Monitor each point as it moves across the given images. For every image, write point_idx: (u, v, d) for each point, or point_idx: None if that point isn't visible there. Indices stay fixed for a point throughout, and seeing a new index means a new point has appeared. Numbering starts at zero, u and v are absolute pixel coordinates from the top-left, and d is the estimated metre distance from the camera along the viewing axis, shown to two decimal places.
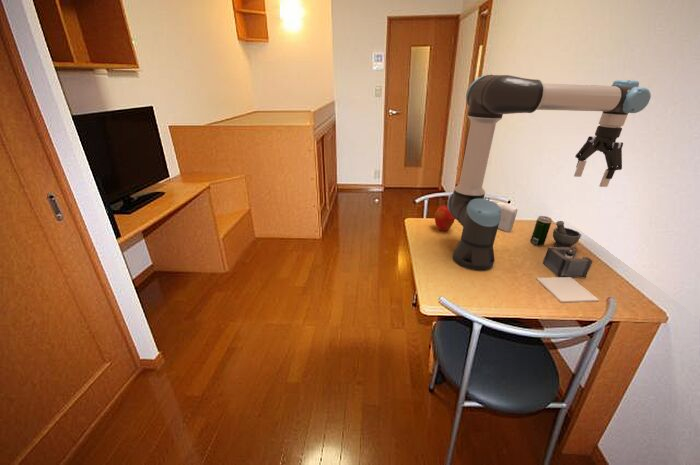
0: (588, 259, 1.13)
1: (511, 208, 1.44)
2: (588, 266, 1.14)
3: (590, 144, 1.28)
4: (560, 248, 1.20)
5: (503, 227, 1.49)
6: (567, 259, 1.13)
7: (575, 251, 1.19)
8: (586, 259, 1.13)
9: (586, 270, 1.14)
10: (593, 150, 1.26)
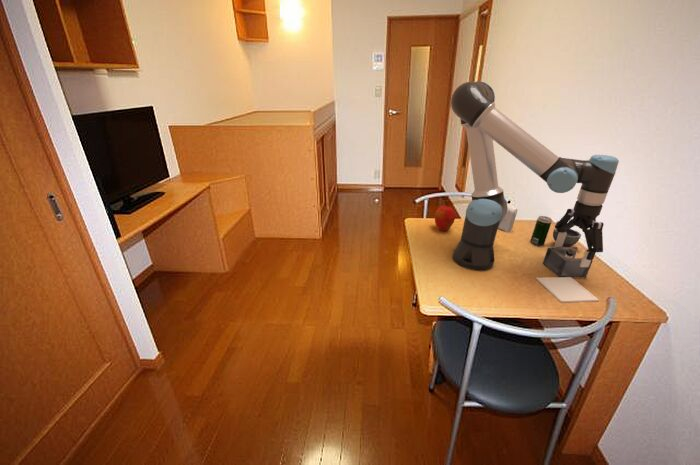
0: None
1: (511, 208, 1.44)
2: None
3: (570, 216, 1.17)
4: (560, 248, 1.20)
5: (503, 227, 1.49)
6: (567, 259, 1.13)
7: (575, 251, 1.19)
8: None
9: (586, 270, 1.14)
10: (573, 224, 1.15)
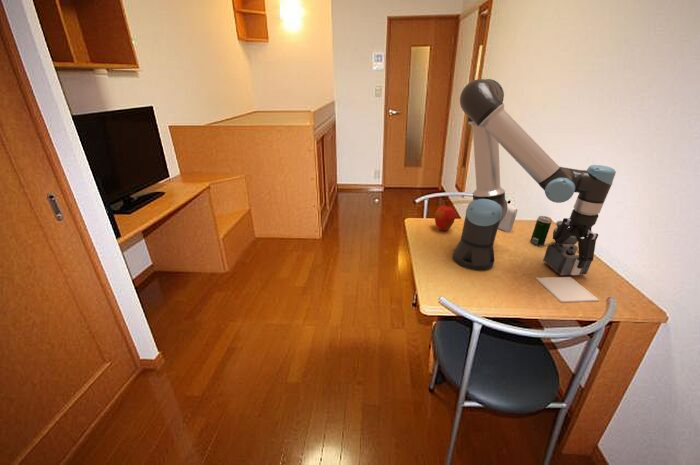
0: None
1: (511, 208, 1.44)
2: (589, 263, 1.13)
3: (566, 226, 1.18)
4: (561, 245, 1.20)
5: (503, 227, 1.49)
6: (568, 256, 1.12)
7: (576, 248, 1.19)
8: None
9: (587, 267, 1.14)
10: (570, 233, 1.16)
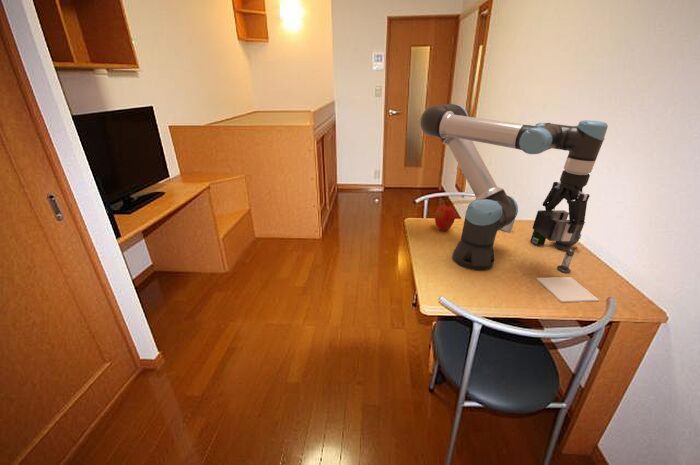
0: None
1: None
2: (580, 228, 1.06)
3: (556, 190, 1.11)
4: (551, 211, 1.13)
5: (503, 227, 1.49)
6: (557, 220, 1.05)
7: (567, 214, 1.12)
8: None
9: (578, 233, 1.07)
10: (560, 198, 1.09)
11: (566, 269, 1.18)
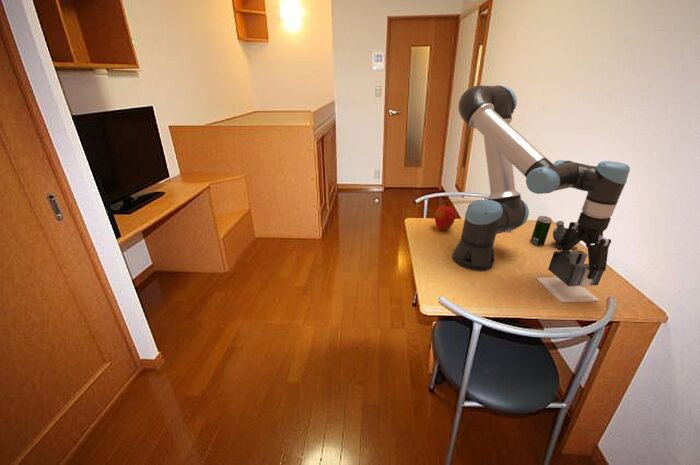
0: None
1: None
2: (600, 273, 0.99)
3: (573, 231, 1.05)
4: (568, 252, 1.06)
5: None
6: (576, 265, 0.99)
7: (585, 256, 1.05)
8: None
9: (598, 277, 1.00)
10: (578, 239, 1.03)
11: None
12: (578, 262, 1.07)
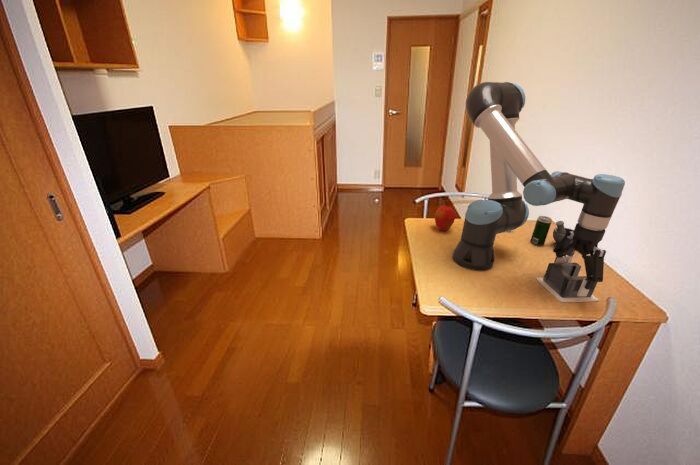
0: None
1: None
2: (594, 285, 1.02)
3: (569, 240, 1.07)
4: (562, 264, 1.08)
5: None
6: (570, 277, 1.01)
7: (579, 267, 1.08)
8: None
9: (591, 289, 1.03)
10: (572, 248, 1.05)
11: None
12: (572, 273, 1.09)
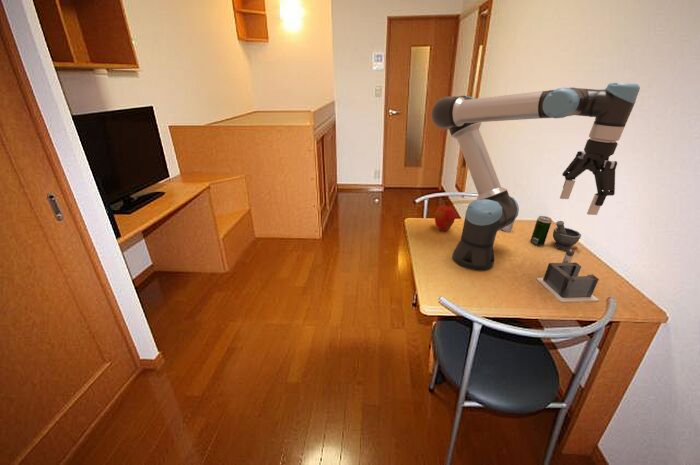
0: (594, 277, 1.02)
1: None
2: (594, 285, 1.02)
3: (580, 161, 1.04)
4: (562, 264, 1.08)
5: None
6: (570, 277, 1.01)
7: (579, 267, 1.08)
8: (591, 277, 1.02)
9: (591, 289, 1.03)
10: (582, 168, 1.02)
11: None
12: (572, 273, 1.09)
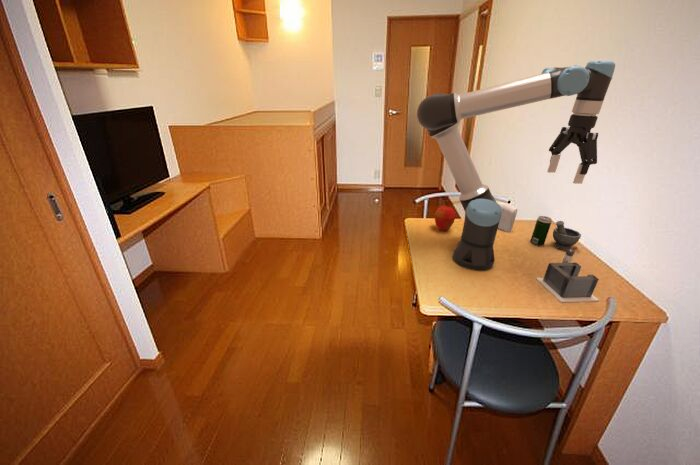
0: (594, 277, 1.02)
1: (511, 208, 1.44)
2: (594, 285, 1.02)
3: (564, 136, 1.13)
4: (562, 264, 1.08)
5: (503, 227, 1.49)
6: (570, 277, 1.01)
7: (579, 267, 1.08)
8: (591, 277, 1.02)
9: (591, 289, 1.03)
10: (567, 142, 1.12)
11: None
12: (572, 273, 1.09)
